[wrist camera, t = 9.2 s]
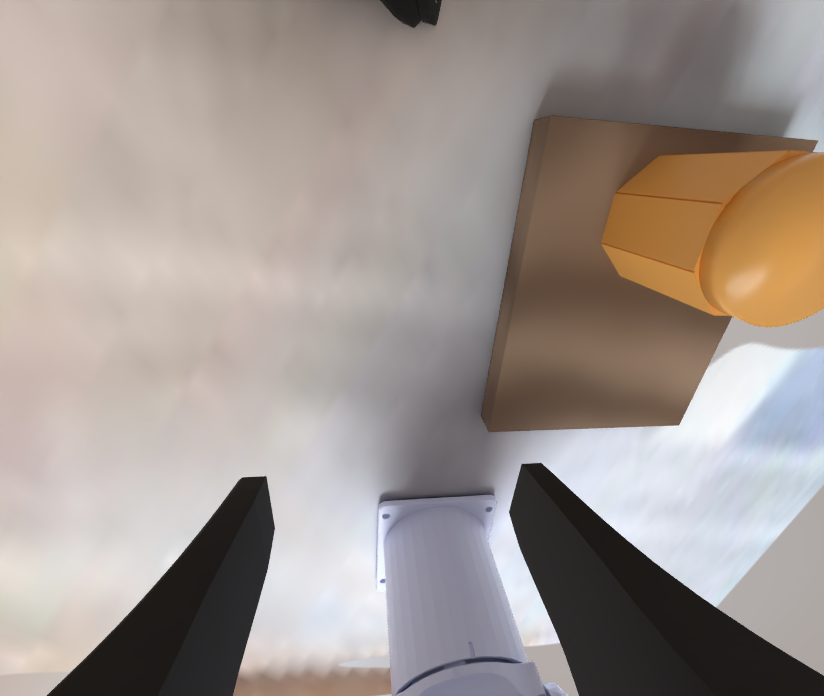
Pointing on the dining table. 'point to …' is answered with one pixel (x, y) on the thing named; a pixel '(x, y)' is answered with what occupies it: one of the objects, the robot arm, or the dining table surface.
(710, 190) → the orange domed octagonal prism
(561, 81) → the dining table surface
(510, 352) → the board
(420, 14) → the electric trimmer
